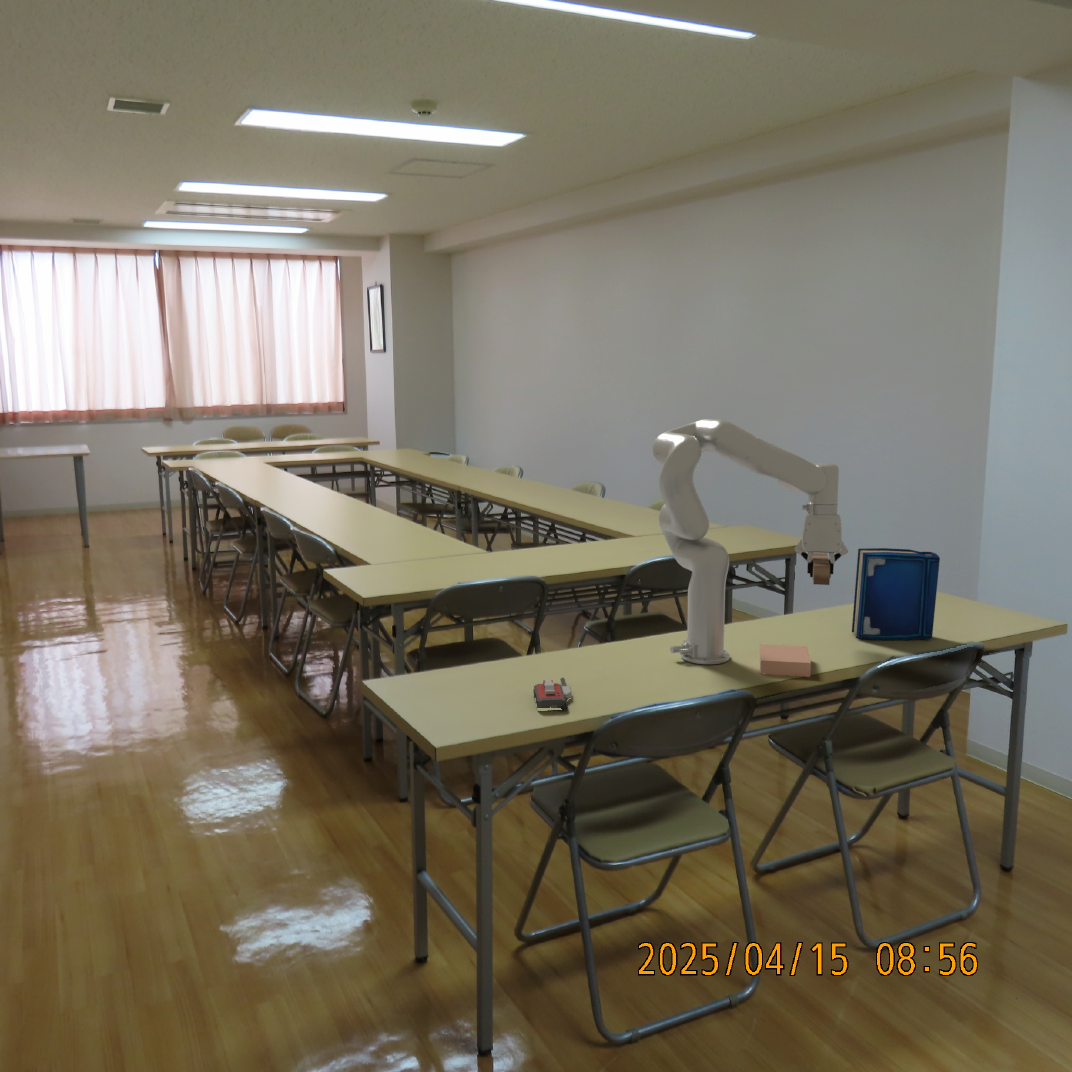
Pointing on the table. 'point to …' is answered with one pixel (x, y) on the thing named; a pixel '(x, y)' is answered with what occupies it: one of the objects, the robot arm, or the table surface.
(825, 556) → the block
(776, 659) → the tile
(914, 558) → the book
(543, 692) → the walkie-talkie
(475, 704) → the table surface
